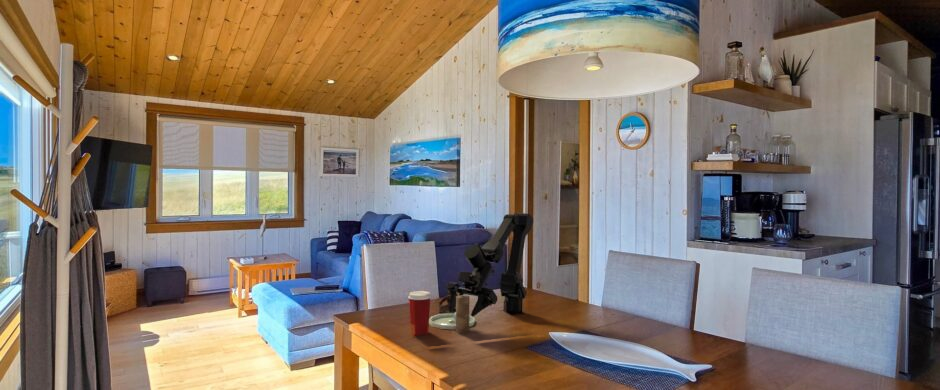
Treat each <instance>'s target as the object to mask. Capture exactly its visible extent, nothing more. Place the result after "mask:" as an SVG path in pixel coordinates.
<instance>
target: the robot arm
mask: <svg viewBox="0 0 940 390" xmlns="http://www.w3.org/2000/svg"><path fill="white" fill-rule="evenodd" d="M533 225H534V217H533V216H532V214H531V213H527V212H526V213H525V212H515V213H513V214H511V213H510V214H509V213H508V214H504V216H503V219H502V221H501V224H499V227H498V228H497V230H496V232H495V234H494V235H493V236H492V238H491V239H490V240H489V241H486V242H485V243H484V244H483V246H482V247H481V244H480V243H475V242H474V243H473V245H471V246H469V247H467V248H466V249H465V250H464V252H463V255H464V257H465V259H466V260H467V262H468V263H469V265H470V266H471V267H472V268H474V269H473V270H472V272H470V271H463V270H460V271H459V273H458V276H457V281H459V282H462V283H461V285H462V286H463V287H461V286H460V284H459V283H458V282H452V281H450V282H447V284H446V286H445V289H446V291H447V293H449V295H450V305H449V311H448V313H453V310H455V309H456V308H455V307H456V296H459V295H467V296H472V297H477V301H476V303H475V304H474V306H473V308H472V310H471V313H470V315H471V316H472V317H474V318H475V316H476V315H478V314H479V313H480V312H481V311H483V310H485V309H487V308H488V307H489V306H492V305H493V306H494V305H496V303H497V302H498V296H497V293H495V291H494V290H493V288H492V287H491V288H489V287H487V285H488V282H487V281H488V279H489V277H490V275H491V274H493V275H494V274H495V269H494V265H492V264H491V263H493V264H498V263H500V262H501V260H502V258H503V255H504V246H505V244H506V242H507V241H508V239H509V237H510V235H511V233H512V239H511V240H512V241H511V246H510V247H511V248H510V253H509V259H508V265H507V270H506V271H505V272H504V273H502V274H501V275H500V282H499V290H500V294H501V297H504V300H503V309H502V311H503V312H504V313H506V314H508V315H510V316H513V315H520V314H525V311H523V300H524V299H526V297H527V293H528V292H527V290H526V288H525V287H524V285H523V283H524V279H523V277H522V275H521V268H522V261H523V257H524V256H523V254H524V249H525V242H526V241H525V240H526V236H527V235H528V234H529V233H530V232H531V230H532V226H533ZM454 308H455V309H454Z"/></svg>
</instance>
